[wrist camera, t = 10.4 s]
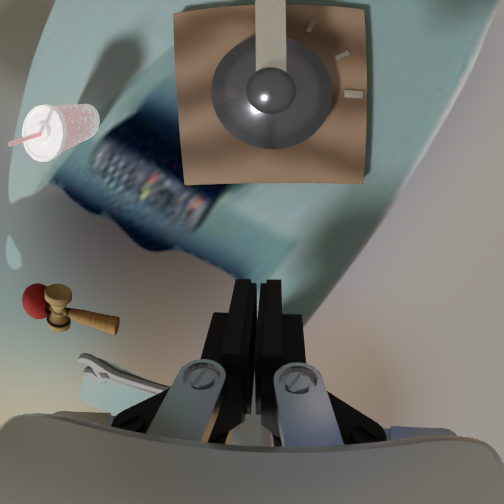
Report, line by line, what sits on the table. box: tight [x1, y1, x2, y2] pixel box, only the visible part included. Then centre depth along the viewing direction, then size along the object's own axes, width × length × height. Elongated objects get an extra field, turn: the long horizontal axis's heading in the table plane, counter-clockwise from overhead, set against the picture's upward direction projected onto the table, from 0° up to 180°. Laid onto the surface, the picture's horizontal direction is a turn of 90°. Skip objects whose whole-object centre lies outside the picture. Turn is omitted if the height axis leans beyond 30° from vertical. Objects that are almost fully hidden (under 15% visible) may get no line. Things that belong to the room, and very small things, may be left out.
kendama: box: [22, 283, 120, 335], centre depth 45 cm, size 8×6×18 cm
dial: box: [211, 0, 333, 149], centre depth 26 cm, size 16×12×7 cm
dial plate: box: [173, 4, 367, 185], centre depth 31 cm, size 20×20×2 cm
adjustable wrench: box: [77, 353, 170, 395], centre depth 55 cm, size 25×6×2 cm, turn 71°
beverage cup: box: [8, 104, 100, 162], centre depth 27 cm, size 6×6×14 cm
